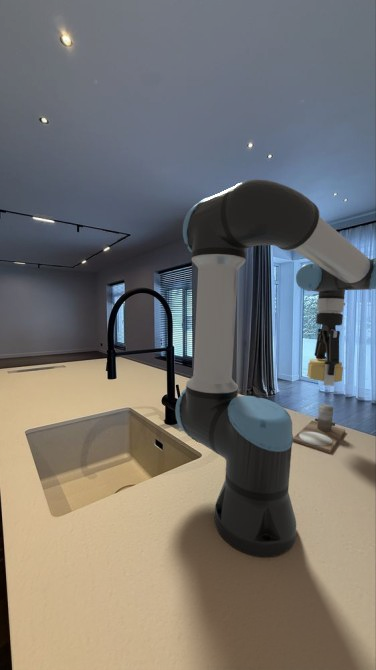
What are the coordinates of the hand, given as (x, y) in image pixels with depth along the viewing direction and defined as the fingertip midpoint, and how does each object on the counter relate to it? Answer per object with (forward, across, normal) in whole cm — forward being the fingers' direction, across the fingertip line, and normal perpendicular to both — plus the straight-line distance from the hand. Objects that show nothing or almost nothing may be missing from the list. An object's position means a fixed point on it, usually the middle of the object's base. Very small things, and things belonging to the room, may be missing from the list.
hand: (323, 381), depth 92 cm
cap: (-1, 0, 0) cm, 1 cm away
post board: (+19, 0, 0) cm, 19 cm away
